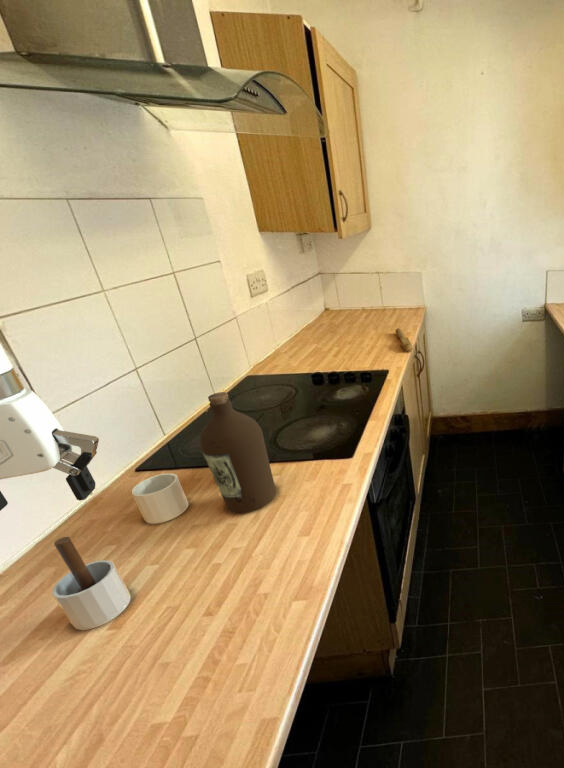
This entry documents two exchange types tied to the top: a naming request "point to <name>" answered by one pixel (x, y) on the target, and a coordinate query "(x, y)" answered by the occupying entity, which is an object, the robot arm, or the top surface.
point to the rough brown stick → (404, 340)
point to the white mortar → (93, 596)
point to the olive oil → (237, 457)
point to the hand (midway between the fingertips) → (43, 502)
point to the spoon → (74, 563)
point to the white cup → (160, 498)
